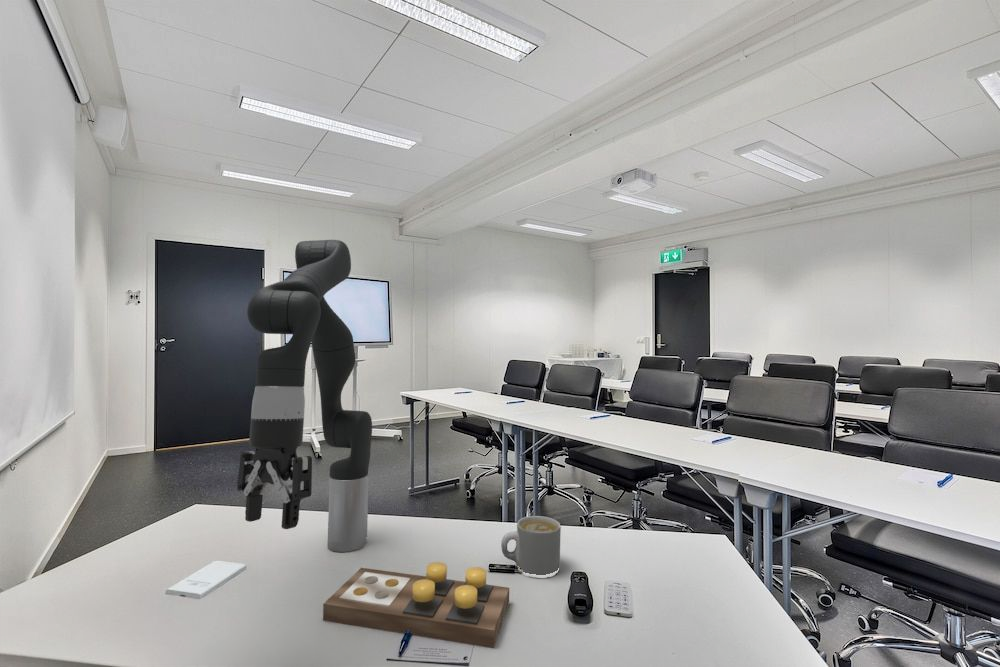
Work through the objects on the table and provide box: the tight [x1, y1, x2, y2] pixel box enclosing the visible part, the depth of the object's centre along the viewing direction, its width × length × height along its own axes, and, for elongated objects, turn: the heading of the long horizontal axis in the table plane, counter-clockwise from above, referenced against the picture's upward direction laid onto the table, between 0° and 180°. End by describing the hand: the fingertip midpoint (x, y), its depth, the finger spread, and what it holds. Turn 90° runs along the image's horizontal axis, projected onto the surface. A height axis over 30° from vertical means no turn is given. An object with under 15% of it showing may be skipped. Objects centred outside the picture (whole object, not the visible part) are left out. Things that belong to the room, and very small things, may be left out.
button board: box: [322, 567, 510, 649], centre depth 90 cm, size 14×32×4 cm, turn 78°
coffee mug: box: [500, 515, 562, 575], centre depth 108 cm, size 13×10×10 cm
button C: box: [464, 566, 487, 588], centre depth 91 cm, size 4×4×2 cm
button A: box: [425, 561, 448, 582], centre depth 93 cm, size 4×4×2 cm
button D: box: [455, 585, 477, 609], centre depth 85 cm, size 4×4×2 cm
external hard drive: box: [165, 560, 247, 600], centre depth 99 cm, size 2×8×12 cm
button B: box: [412, 579, 435, 602], centre depth 86 cm, size 4×4×2 cm
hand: (270, 524), depth 72 cm, fingers open, 8 cm apart
